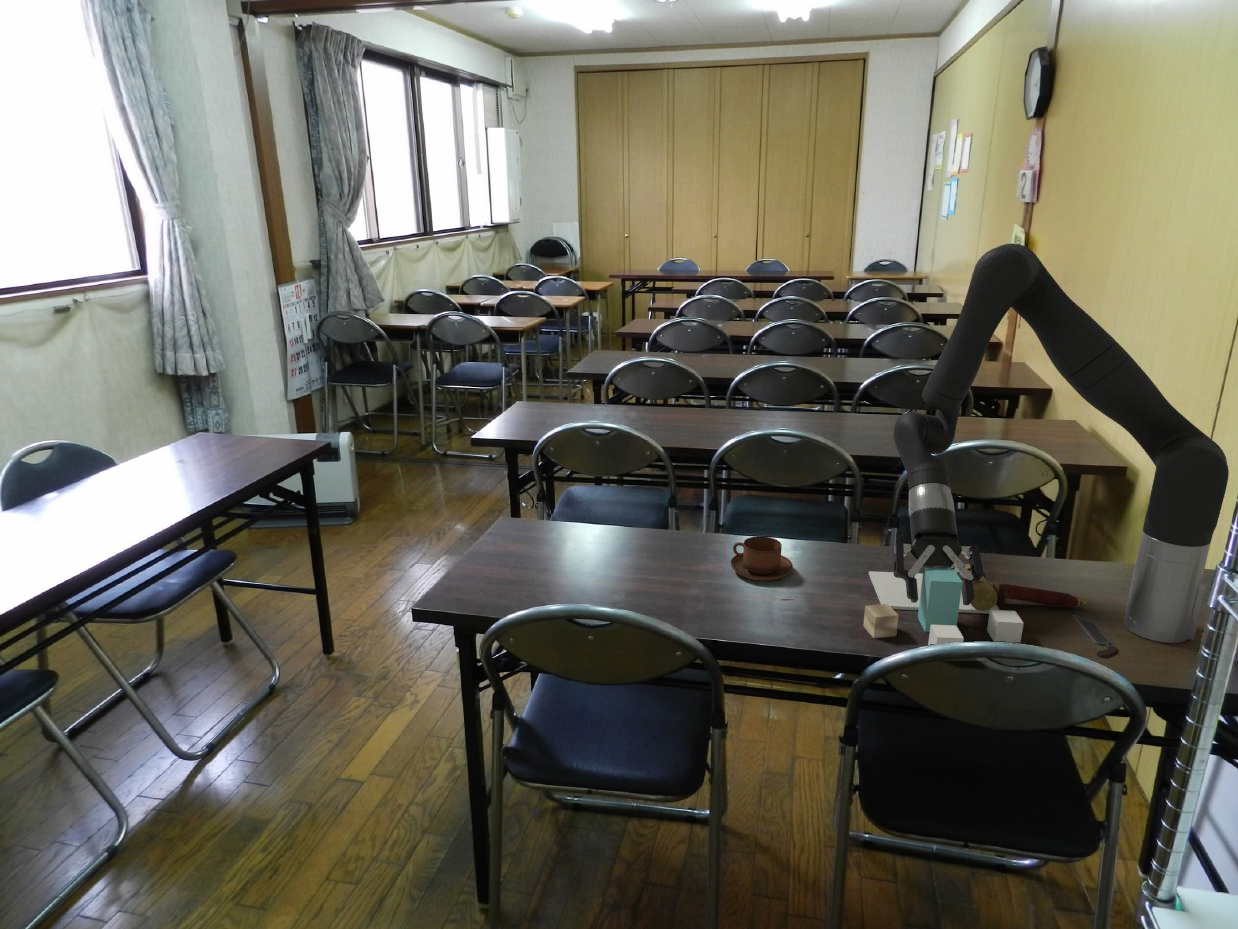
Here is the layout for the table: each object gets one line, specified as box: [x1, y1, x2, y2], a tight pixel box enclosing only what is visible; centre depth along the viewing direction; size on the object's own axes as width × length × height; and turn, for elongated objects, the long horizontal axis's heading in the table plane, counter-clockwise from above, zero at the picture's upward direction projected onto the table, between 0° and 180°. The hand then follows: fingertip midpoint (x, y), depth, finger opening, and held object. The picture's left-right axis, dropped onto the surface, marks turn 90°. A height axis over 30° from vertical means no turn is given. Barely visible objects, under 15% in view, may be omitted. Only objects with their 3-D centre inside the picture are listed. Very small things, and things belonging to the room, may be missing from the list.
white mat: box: [868, 570, 1000, 615], centre depth 148 cm, size 20×14×1 cm
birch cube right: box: [863, 603, 899, 639], centre depth 135 cm, size 4×4×4 cm
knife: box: [1072, 614, 1118, 659], centre depth 133 cm, size 14×4×1 cm, turn 171°
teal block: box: [917, 567, 962, 633], centre depth 136 cm, size 5×5×10 cm
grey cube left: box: [986, 609, 1025, 643], centre depth 133 cm, size 4×4×4 cm
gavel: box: [964, 563, 1087, 611], centre depth 143 cm, size 21×5×10 cm
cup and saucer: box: [730, 535, 794, 582], centre depth 157 cm, size 12×12×6 cm
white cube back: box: [927, 625, 964, 645], centre depth 128 cm, size 4×4×4 cm
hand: (941, 602), depth 135 cm, fingers open, 8 cm apart
